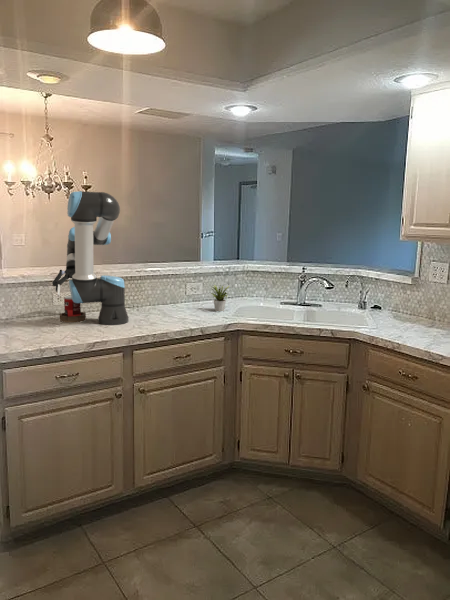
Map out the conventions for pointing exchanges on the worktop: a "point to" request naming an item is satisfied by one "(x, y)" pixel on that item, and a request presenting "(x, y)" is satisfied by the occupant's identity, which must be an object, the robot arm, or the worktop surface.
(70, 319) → the walnut tray
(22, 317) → the worktop surface
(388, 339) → the worktop surface
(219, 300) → the house plant
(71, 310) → the canned food
